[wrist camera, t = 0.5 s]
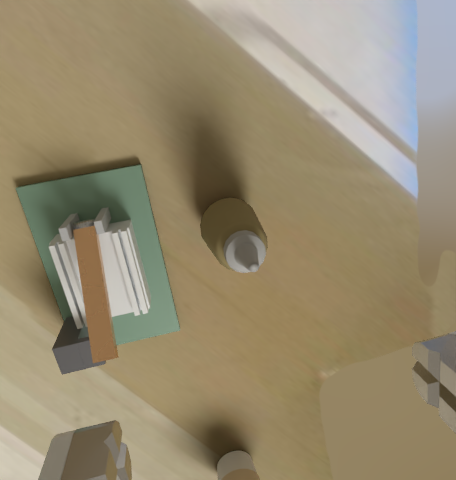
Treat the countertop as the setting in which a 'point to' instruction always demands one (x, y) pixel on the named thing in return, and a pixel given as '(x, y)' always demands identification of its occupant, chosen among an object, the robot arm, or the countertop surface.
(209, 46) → the countertop surface
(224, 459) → the coffee cup
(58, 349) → the block
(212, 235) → the squeeze bottle
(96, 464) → the robot arm
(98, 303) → the strap
